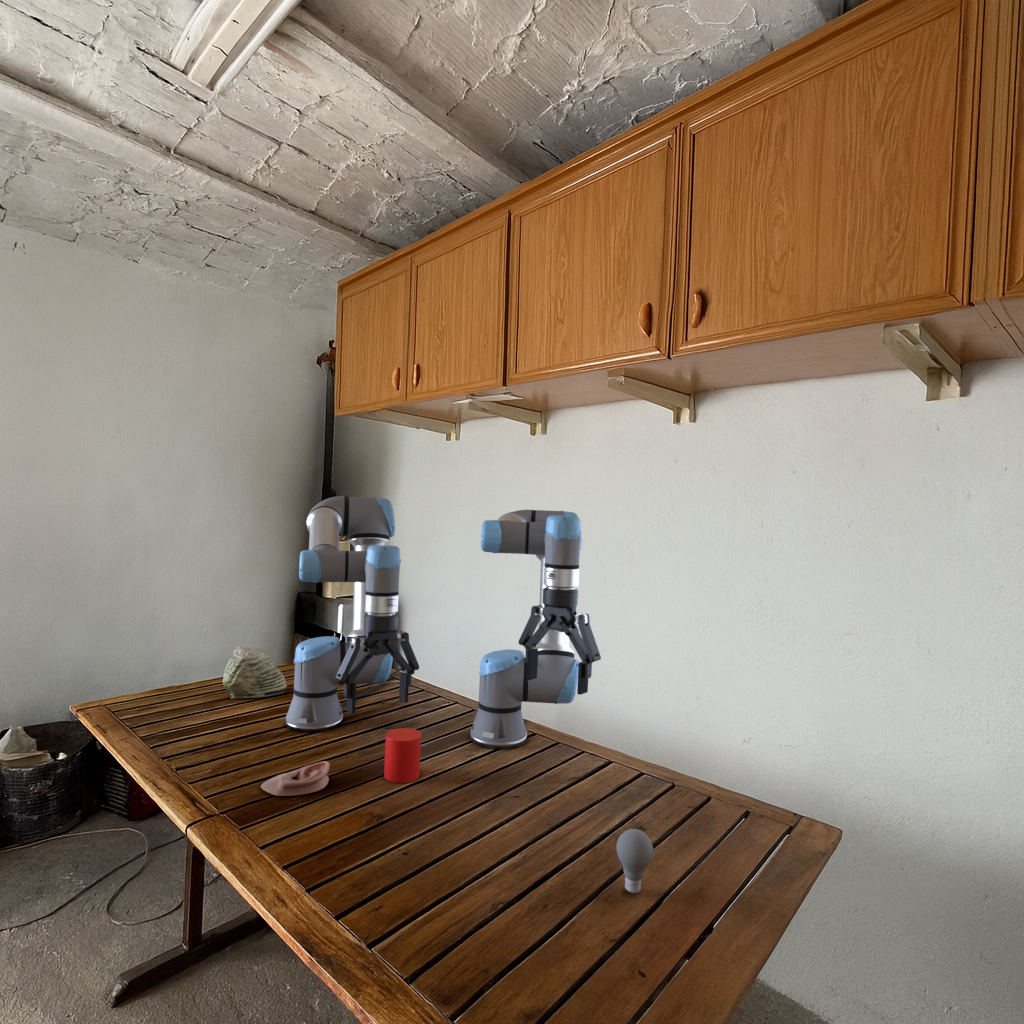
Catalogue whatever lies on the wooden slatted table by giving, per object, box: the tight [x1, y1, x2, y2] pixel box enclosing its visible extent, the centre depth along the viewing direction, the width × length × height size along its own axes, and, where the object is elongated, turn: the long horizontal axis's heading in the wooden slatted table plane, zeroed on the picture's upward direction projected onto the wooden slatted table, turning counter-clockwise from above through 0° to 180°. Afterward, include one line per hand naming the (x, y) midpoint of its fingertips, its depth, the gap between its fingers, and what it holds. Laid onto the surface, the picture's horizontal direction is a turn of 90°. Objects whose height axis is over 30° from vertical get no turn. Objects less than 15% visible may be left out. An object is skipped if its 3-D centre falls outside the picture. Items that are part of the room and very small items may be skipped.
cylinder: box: [383, 727, 422, 784], centre depth 146 cm, size 8×8×10 cm
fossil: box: [222, 646, 288, 699], centre depth 198 cm, size 9×18×15 cm, turn 132°
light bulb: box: [615, 828, 654, 894], centre depth 106 cm, size 6×6×10 cm
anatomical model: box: [260, 760, 331, 797], centre depth 138 cm, size 13×4×12 cm
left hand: (377, 706), depth 144 cm, fingers open, 13 cm apart
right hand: (556, 685), depth 136 cm, fingers open, 13 cm apart
